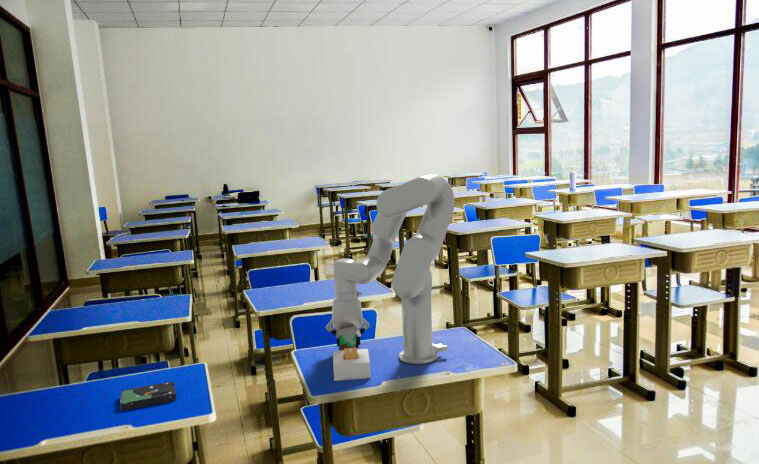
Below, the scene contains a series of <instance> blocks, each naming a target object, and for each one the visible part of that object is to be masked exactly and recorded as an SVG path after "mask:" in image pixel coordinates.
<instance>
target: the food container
mask: <svg viewBox="0 0 759 464" xmlns="http://www.w3.org/2000/svg"><path fill="white" fill-rule="evenodd" d="M356 331H358V329H357V327H356V326H355V325H354V326H352V327H349V328H340V329H339V338H340V350H339V351H342V350H344V349H346V348H356V337H357V333H356Z"/></svg>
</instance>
